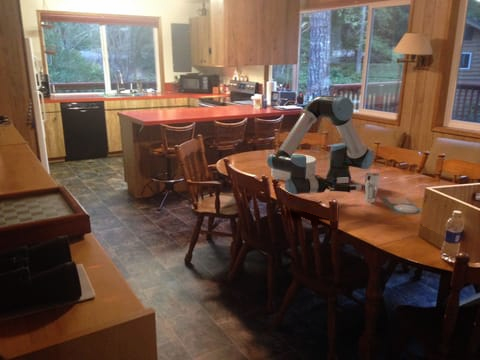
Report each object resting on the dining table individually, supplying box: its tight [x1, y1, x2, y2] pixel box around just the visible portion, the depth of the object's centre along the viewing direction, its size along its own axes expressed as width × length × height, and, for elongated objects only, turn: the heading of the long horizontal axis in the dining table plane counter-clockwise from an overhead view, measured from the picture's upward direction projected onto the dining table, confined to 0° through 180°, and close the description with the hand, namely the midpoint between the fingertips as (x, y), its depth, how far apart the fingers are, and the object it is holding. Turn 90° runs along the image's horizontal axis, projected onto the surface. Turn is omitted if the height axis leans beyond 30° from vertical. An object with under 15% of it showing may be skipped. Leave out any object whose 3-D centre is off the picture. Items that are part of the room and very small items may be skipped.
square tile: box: [384, 196, 411, 205], centre depth 216 cm, size 10×10×1 cm
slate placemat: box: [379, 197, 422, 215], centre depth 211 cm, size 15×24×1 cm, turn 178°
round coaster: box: [394, 204, 418, 215], centre depth 205 cm, size 11×11×1 cm
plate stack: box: [270, 153, 317, 182], centre depth 266 cm, size 28×28×12 cm
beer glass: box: [364, 172, 380, 204], centre depth 216 cm, size 7×7×15 cm
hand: (354, 183), depth 213 cm, fingers open, 13 cm apart
